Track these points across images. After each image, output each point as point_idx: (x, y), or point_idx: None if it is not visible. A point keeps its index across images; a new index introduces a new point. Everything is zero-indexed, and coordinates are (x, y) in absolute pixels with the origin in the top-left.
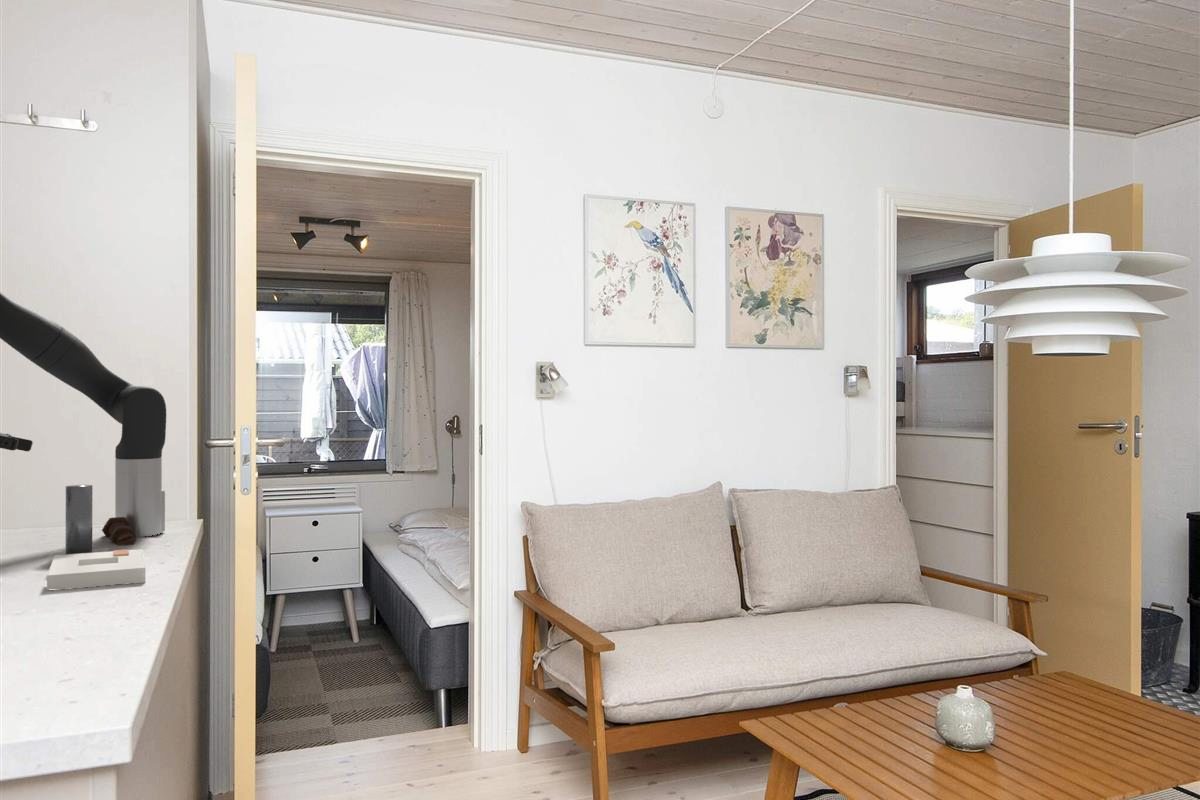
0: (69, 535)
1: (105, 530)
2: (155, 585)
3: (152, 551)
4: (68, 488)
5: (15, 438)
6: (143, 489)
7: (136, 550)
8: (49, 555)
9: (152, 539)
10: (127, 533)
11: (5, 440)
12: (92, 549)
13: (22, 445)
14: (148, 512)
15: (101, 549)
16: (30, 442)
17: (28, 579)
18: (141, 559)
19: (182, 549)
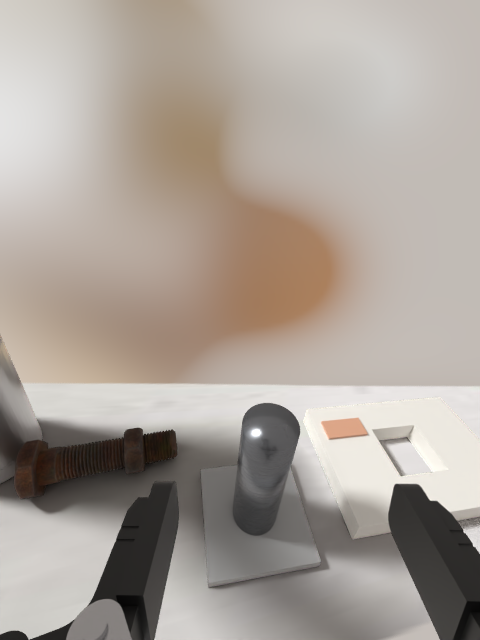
0: (279, 504)
1: (36, 488)
2: (443, 399)
3: (209, 418)
4: (295, 444)
5: (153, 564)
6: (13, 374)
7: (317, 414)
8: (257, 571)
9: (77, 426)
10: (170, 434)
11: (463, 538)
12: (207, 495)
13: (168, 537)
14: (29, 403)
15: (213, 479)
16: (175, 488)
17: None
18: (388, 404)
19: (207, 388)
